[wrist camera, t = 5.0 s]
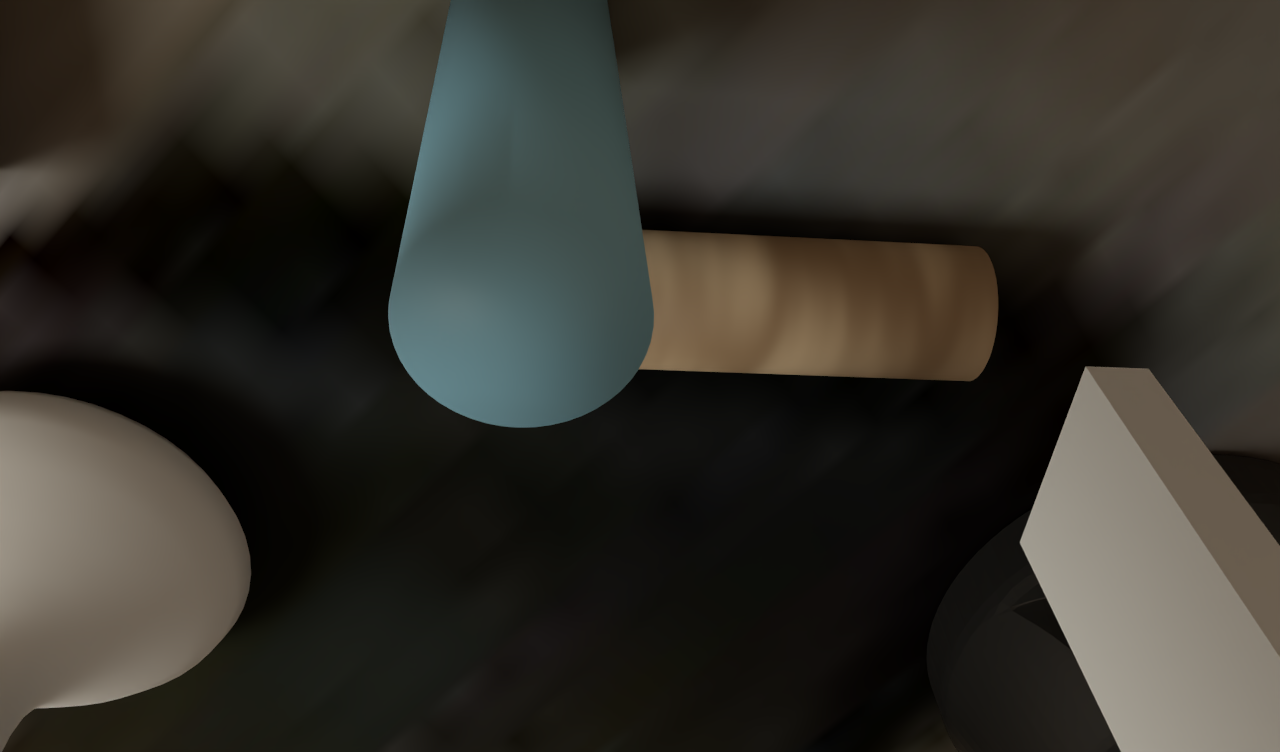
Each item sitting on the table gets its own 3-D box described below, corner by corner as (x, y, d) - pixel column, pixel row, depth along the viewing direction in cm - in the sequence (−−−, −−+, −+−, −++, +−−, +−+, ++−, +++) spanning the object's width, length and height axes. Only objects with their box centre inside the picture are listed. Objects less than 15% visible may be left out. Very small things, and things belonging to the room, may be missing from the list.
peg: (612, -69, 27) (666, 209, 15) (601, 83, 29) (641, 431, 17) (452, -82, 26) (383, 195, 15) (452, 74, 28) (391, 423, 17)
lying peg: (938, 355, 34) (957, 232, 33) (983, 401, 30) (1007, 265, 29) (517, 339, 32) (522, 210, 31) (516, 384, 29) (521, 241, 28)
